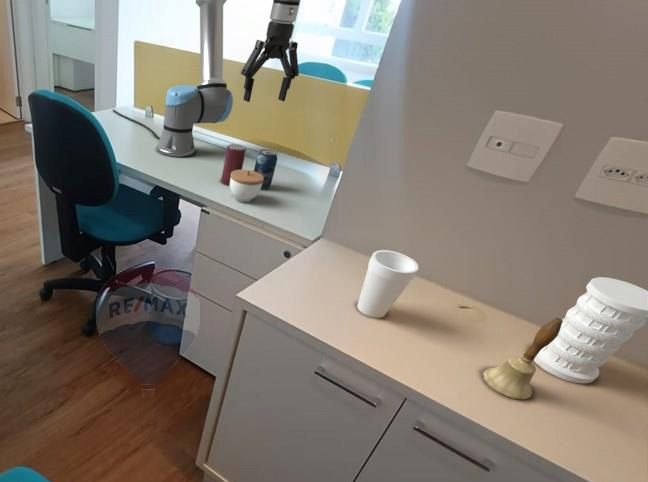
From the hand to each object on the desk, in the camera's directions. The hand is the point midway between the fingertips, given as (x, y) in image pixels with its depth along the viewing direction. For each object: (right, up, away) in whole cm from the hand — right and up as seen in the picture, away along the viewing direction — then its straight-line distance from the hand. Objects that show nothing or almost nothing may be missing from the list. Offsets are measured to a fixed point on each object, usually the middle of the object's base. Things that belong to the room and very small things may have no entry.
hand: (264, 100), depth 145 cm
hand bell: (+32, -86, -58) cm, 109 cm away
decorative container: (+49, -83, -52) cm, 109 cm away
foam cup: (+14, -71, -41) cm, 83 cm away
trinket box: (-6, -31, +4) cm, 32 cm away
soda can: (+2, -24, +13) cm, 27 cm away
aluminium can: (-9, -22, +14) cm, 27 cm away
